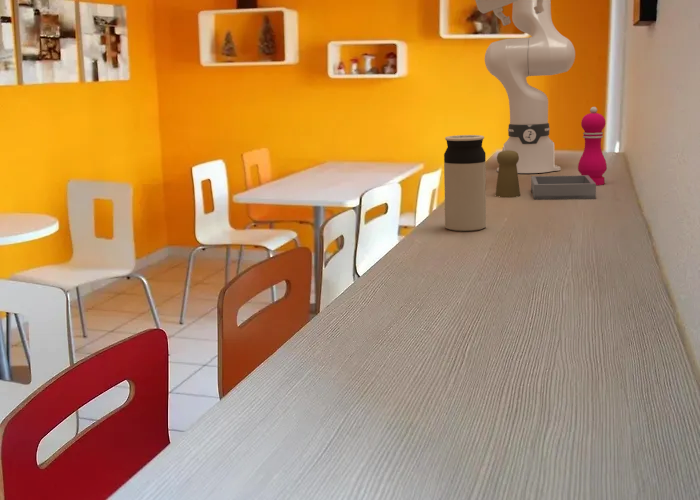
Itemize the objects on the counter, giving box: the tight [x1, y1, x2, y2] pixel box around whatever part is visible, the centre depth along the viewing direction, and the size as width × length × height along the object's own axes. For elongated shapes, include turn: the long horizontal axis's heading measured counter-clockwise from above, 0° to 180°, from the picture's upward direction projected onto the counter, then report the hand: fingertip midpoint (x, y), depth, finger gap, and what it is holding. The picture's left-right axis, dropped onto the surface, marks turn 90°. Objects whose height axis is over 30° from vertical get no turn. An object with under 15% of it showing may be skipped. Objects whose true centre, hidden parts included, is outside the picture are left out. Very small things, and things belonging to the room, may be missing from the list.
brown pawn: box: [495, 150, 521, 198], centre depth 198 cm, size 6×6×11 cm
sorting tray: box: [530, 174, 597, 201], centre depth 198 cm, size 16×14×4 cm
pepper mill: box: [577, 106, 608, 187], centre depth 211 cm, size 7×7×20 cm
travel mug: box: [443, 134, 487, 232], centre depth 159 cm, size 8×8×18 cm
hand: (523, 18), depth 200 cm, fingers open, 8 cm apart
